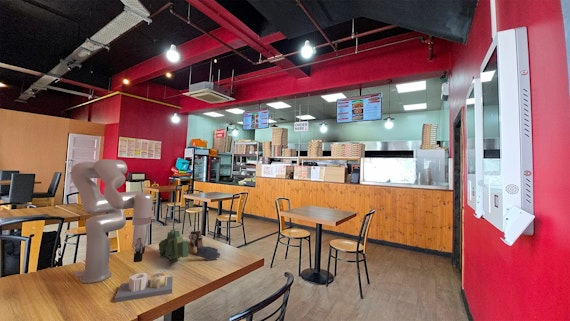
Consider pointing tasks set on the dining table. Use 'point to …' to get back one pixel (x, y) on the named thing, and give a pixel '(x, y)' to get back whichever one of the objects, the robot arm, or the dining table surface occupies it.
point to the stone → (208, 253)
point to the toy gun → (196, 239)
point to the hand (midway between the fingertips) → (139, 257)
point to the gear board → (146, 288)
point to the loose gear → (138, 282)
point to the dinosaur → (173, 246)
